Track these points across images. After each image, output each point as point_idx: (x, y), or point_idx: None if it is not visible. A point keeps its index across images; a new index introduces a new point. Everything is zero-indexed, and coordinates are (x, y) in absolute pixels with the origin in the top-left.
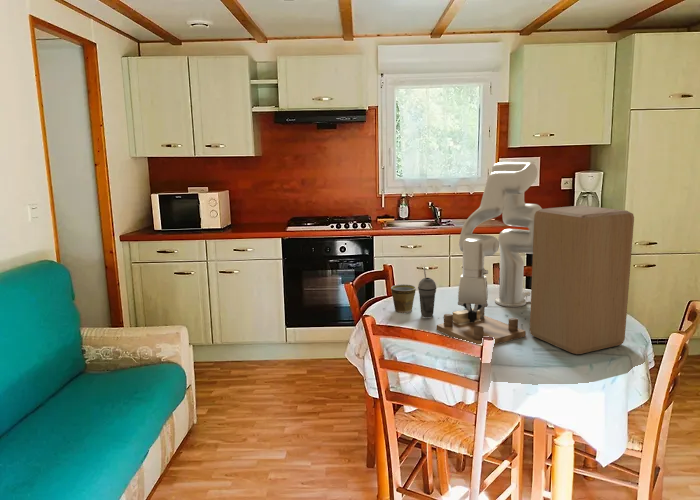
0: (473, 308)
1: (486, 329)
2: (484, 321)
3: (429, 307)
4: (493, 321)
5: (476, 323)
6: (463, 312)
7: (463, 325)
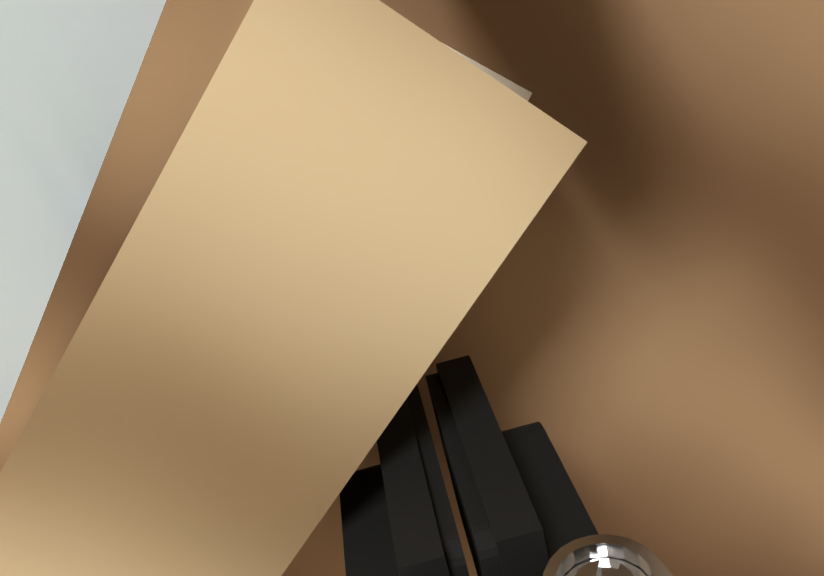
0: (260, 6)
1: (747, 529)
2: (622, 132)
3: None
4: (819, 16)
5: (498, 350)
6: (176, 574)
7: (312, 571)
